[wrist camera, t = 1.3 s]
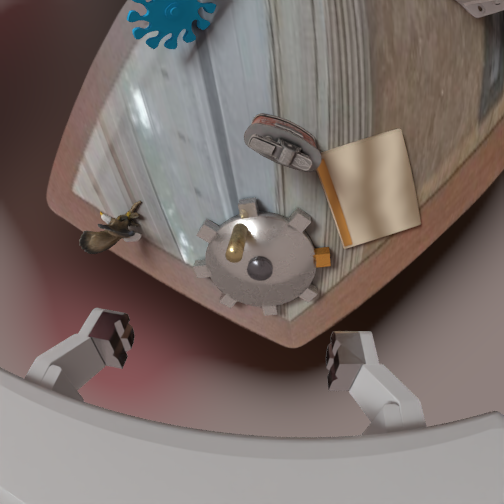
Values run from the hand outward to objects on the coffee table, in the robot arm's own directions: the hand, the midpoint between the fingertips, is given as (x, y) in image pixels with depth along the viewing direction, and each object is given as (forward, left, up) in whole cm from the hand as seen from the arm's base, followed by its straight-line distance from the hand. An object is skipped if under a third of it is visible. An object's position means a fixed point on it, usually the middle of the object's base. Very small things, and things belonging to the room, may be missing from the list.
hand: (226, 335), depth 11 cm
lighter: (-2, 0, -30) cm, 30 cm away
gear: (+1, -18, -31) cm, 35 cm away
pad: (-10, +11, -29) cm, 33 cm away
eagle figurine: (+24, +1, -30) cm, 38 cm away
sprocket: (+8, +16, -29) cm, 34 cm away
